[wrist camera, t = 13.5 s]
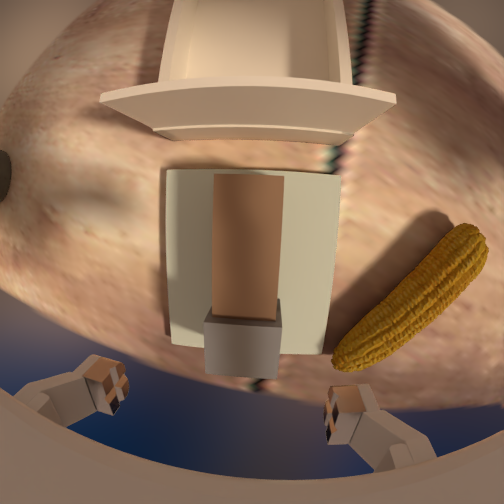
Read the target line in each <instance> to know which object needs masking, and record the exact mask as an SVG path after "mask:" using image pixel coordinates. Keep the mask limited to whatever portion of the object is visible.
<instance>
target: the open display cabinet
mask: <svg viewBox="0 0 504 504" xmlns="http://www.w3.org/2000/svg"><path fill="white" fill-rule="evenodd" d="M100 103H101V104H103V105H105V106H108V107H110V108H112V109H114V110H116V111H118V112H120V113H122V114H124V115H126V116H128V117H131V118H133V119H135V120H137V121H139V122H141V123H143V124H145V125H147V126H149V127H150V128H152V129H153V131H154V132H156V133H158V134H160V135H162V136H164V137H166V138H168V139H170V140H172V141H184V140H216V139H241V140H274V141H291V142H305V143H316V144H326V145H335V146H339V145H341V144H342V143H344V142H345V141H347V140H348V139H350V138H351V137H353V136H354V133H355V132H356V131H358V130H359V129H361V128H362V127H364V126H365V125H366V124H368V123H369V122H371V121H372V120H374V119H375V118H377V117H378V116H380V115H381V114H382V113H384V112H385V111H387V110H388V109H390V108H391V107H393V106H394V105H396V104H397V103H396V94H394V93H390V92H386V91H381V90H377V89H372V88H367V87H362V86H357V85H352V72H351V60H350V49H349V40H348V32H347V24H346V17H345V10H344V4H343V0H174V3H173V7H172V11H171V15H170V20H169V24H168V29H167V33H166V38H165V43H164V49H163V54H162V60H161V66H160V73H159V79H158V82H156V83H150V84H144V85H138V86H133V87H127V88H123V89H118V90H113V91H109V92H105V93H101V96H100Z"/></svg>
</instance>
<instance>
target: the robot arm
mask: <svg viewBox="0 0 504 504" xmlns="http://www.w3.org/2000/svg"><path fill="white" fill-rule="evenodd" d="M125 371H126V370H125V366H124V364H123V363H121V362H118V361H114V360H111V359H108V358H104V357H100V356H97V355H90V356H89V357H88V358H87V359H86V360H85V361H84V362H83V363H82V364H81V365H80V366H79V367H78V368H77V369H76V370H75V371H74V372H72V373H71V372H67V373H64V374H61V375H57V376H54V377H50V378H47V379H43V380H39V381H36V382H32V383H28V384H27V385H26V386H24V387H23V388H22V389H21V390H20V391H19V392H18V393H17V394H16V395H14V396H13V397H12V396H11V395H10V394H8V393H7V392H5V391H3V390H2V389H1V388H0V504H504V430H503V431H501V432H498V433H496V434H494V435H492V436H491V437H488V438H486V439H484V440H482V441H479V442H477V443H475V444H473V445H470V446H468V447H465V448H463V449H460V450H458V451H455V452H452V453H449V454H447V455H444V456H441V457H438V458H437V456H436V454H435V452H434V450H433V448H432V446H431V444H430V442H429V440H428V438H427V436H425V435H423V434H421V433H420V432H418V431H417V430H415V429H413V428H412V427H410V426H408V425H407V424H405V423H404V422H402V421H400V420H399V419H397V418H396V417H394V416H392V415H391V414H389V413H388V412H386V411H384V410H380V408H379V406H378V404H377V401H376V399H375V397H374V394H373V392H372V390H371V388H370V385H369V384H358V385H345V386H330V388H329V391H328V398H329V399H328V400H327V401H326V402H325V406H324V412H323V418H324V424H325V425H326V426H327V430H326V438H327V443H328V445H336V444H349V445H350V446H351V447H352V448H353V449H354V450H355V451H356V452H357V453H358V454H359V455H360V456H361V457H362V458H363V459H364V460H365V461H366V462H367V463H368V464H369V465H370V466H371V467H372V468H373V469H374V470H375V471H374V472H373V473H372V474H366V475H359V476H351V477H343V478H332V479H318V480H262V479H248V478H237V477H228V476H221V475H213V474H208V473H202V472H196V471H191V470H186V469H182V468H177V467H173V466H169V465H164V464H161V463H157V462H153V461H149V460H146V459H143V458H140V457H136V456H133V455H130V454H128V453H124V452H122V451H119V450H116V449H113V448H111V447H108V446H105V445H103V444H101V443H98V442H96V441H93V440H91V439H89V438H86V437H84V436H82V435H80V434H78V433H75V432H73V431H71V430H69V429H67V428H65V427H67V426H69V425H71V424H73V423H75V422H77V421H79V420H81V419H82V418H84V417H86V416H88V415H90V414H92V413H94V412H96V410H98V411H101V412H104V413H107V414H110V415H114V414H115V412H116V411H117V409H118V408H119V407H120V403H119V401H122V400H124V399H125V398H126V396H127V395H128V391H129V382H128V379H127V378H126V377H125V375H124V373H125Z"/></svg>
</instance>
